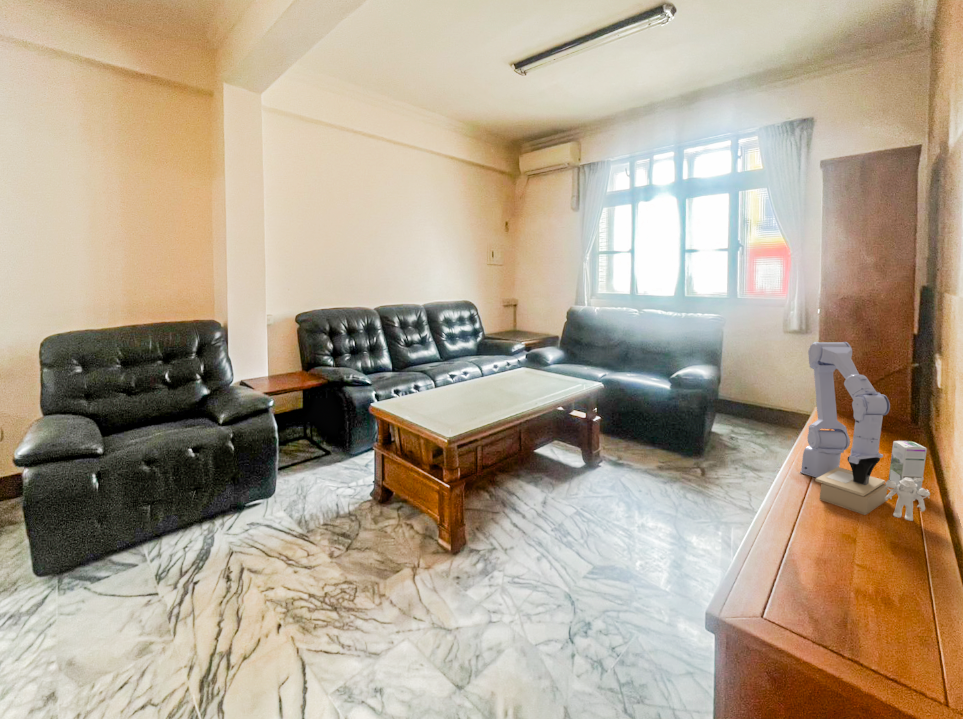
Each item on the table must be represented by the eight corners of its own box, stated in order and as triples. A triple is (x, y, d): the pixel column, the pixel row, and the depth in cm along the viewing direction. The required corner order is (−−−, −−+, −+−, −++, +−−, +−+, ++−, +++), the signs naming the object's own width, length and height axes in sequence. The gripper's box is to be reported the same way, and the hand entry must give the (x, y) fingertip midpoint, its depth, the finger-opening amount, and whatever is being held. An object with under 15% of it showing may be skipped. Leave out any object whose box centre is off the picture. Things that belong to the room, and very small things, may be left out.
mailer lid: (815, 481, 135) (816, 470, 134) (837, 469, 142) (838, 459, 142) (863, 496, 125) (865, 485, 124) (884, 482, 132) (886, 472, 132)
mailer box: (819, 499, 135) (821, 483, 134) (840, 487, 142) (842, 472, 141) (865, 515, 125) (867, 498, 124) (885, 501, 133) (887, 485, 132)
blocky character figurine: (926, 520, 122) (933, 478, 120) (924, 526, 119) (931, 483, 117) (882, 508, 129) (888, 468, 127) (879, 513, 126) (885, 472, 124)
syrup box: (921, 493, 136) (929, 447, 134) (898, 492, 138) (905, 446, 135) (908, 485, 142) (914, 440, 139) (886, 484, 143) (892, 440, 140)
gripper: (873, 445, 122) (867, 493, 124) (894, 434, 129) (888, 479, 132) (842, 438, 128) (836, 483, 130) (864, 428, 135) (858, 471, 138)
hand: (860, 481), depth 131 cm, fingers closed on mailer lid, 2 cm apart
